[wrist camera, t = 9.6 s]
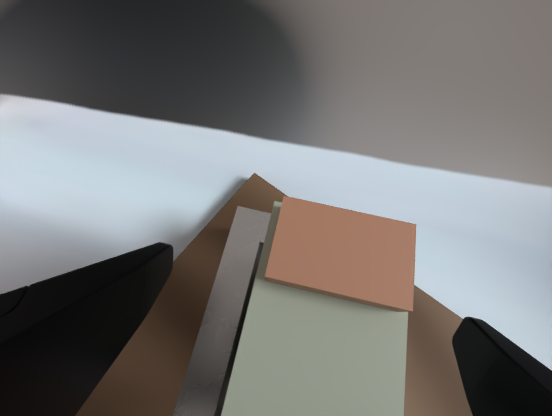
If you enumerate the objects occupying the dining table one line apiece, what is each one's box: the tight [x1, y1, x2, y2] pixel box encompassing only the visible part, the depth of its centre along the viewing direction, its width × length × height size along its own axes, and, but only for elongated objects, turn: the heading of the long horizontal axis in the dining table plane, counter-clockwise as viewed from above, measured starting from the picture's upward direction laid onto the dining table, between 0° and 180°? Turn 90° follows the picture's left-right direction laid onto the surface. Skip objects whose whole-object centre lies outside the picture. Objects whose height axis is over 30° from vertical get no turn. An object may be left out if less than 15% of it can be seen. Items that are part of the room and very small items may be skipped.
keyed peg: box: [221, 196, 416, 416], centre depth 10 cm, size 5×3×12 cm, turn 167°
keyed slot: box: [173, 206, 271, 416], centre depth 13 cm, size 10×8×4 cm
